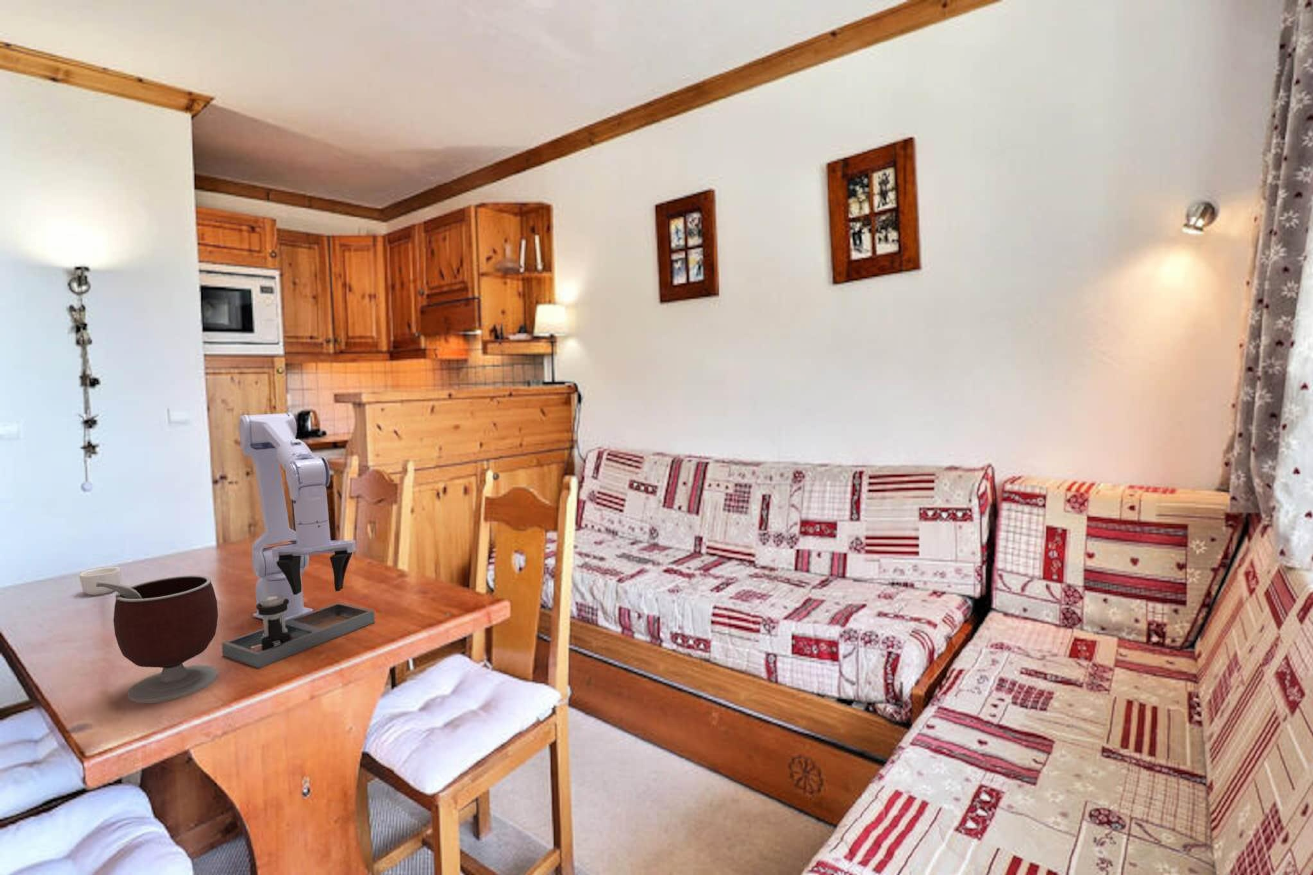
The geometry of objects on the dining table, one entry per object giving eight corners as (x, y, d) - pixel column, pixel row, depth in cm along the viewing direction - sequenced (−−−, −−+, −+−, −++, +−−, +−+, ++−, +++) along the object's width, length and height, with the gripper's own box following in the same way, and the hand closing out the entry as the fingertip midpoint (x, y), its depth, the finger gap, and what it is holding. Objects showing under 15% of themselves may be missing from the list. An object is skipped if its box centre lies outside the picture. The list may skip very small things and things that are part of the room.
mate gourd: (215, 659, 120) (205, 553, 118) (231, 684, 110) (220, 569, 108) (106, 688, 110) (93, 573, 108) (112, 719, 100) (98, 592, 98)
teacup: (124, 592, 161) (121, 570, 160) (82, 600, 156) (80, 578, 155) (119, 583, 168) (117, 563, 167) (79, 591, 163) (77, 570, 162)
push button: (254, 659, 120) (250, 606, 119) (249, 650, 124) (245, 599, 123) (295, 649, 124) (291, 598, 123) (288, 640, 128) (285, 591, 127)
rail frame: (222, 655, 122) (221, 642, 121) (339, 613, 142) (339, 602, 142) (258, 668, 116) (257, 654, 116) (374, 622, 137) (373, 610, 137)
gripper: (261, 528, 119) (268, 601, 120) (344, 522, 121) (350, 594, 122) (279, 521, 126) (285, 589, 127) (357, 515, 128) (363, 583, 129)
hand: (318, 591), depth 125 cm, fingers open, 7 cm apart
